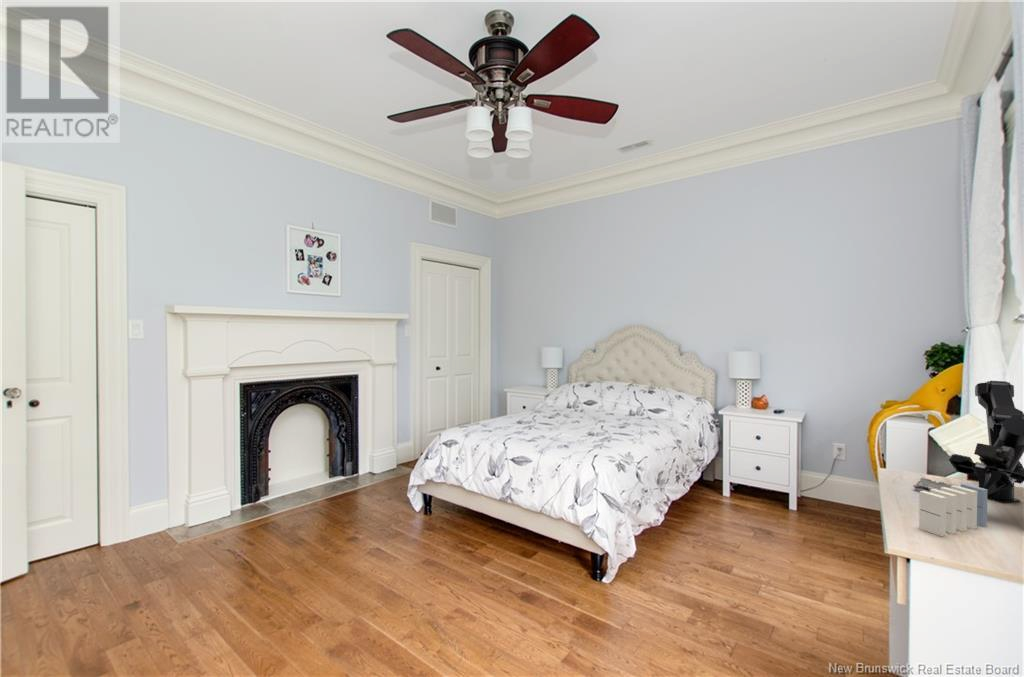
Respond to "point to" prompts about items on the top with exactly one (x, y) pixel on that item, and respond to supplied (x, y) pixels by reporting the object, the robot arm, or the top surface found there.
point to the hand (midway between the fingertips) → (981, 495)
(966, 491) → the domino
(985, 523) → the domino
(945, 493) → the domino
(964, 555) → the top surface
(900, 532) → the top surface
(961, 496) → the domino
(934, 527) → the domino
